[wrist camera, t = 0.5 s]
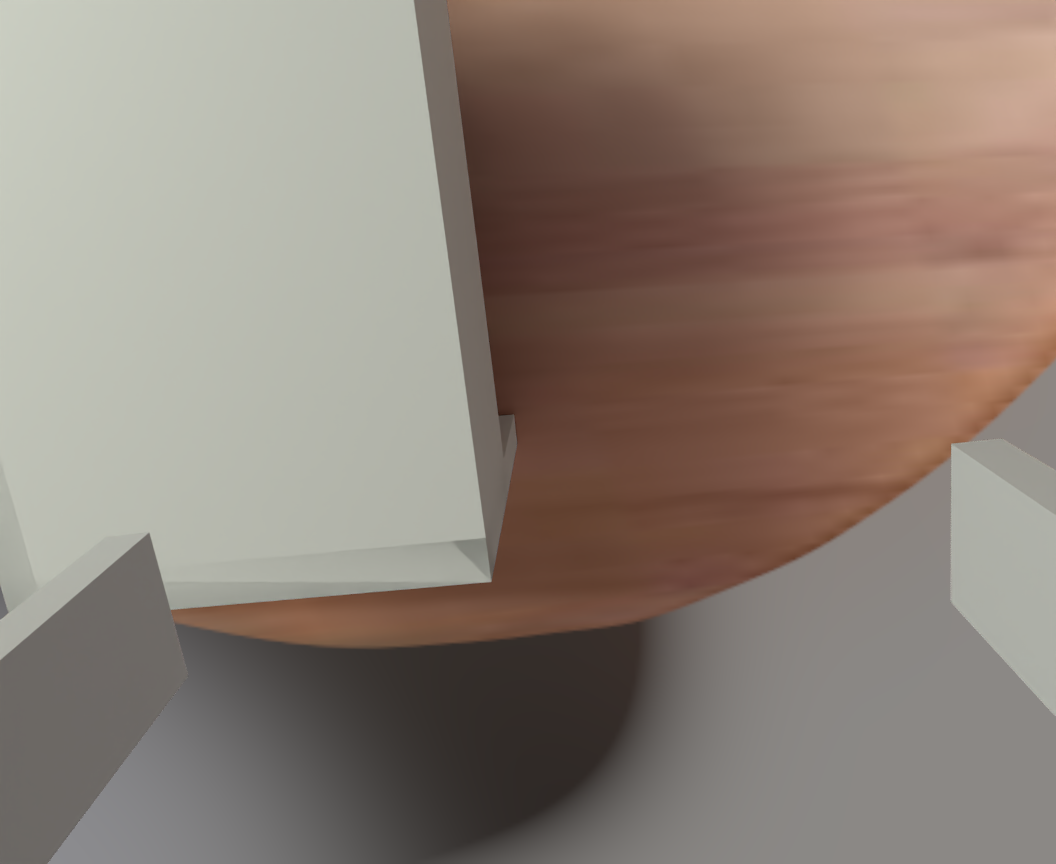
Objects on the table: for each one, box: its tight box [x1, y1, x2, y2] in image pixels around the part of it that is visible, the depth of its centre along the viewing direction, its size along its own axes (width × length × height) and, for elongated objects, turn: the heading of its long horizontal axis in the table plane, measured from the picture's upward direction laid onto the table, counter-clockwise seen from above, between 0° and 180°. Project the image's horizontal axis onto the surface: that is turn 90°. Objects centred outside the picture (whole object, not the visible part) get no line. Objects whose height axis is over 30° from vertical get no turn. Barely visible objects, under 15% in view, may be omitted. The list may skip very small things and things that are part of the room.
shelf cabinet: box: [0, 0, 517, 613], centre depth 33 cm, size 22×16×16 cm
